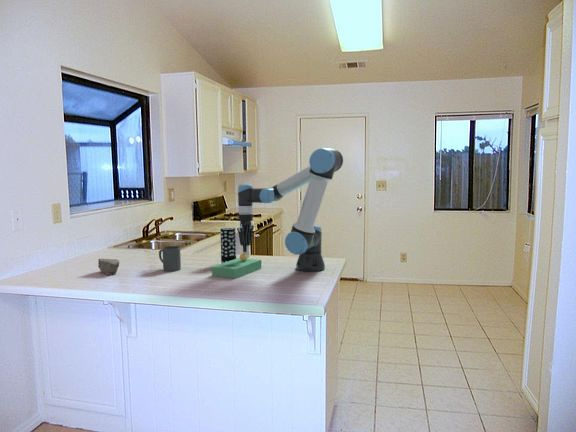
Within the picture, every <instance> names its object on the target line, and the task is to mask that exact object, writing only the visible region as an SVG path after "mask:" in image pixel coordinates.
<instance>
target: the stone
mask: <svg viewBox="0 0 576 432" xmlns="http://www.w3.org/2000/svg"><path fill="white" fill-rule="evenodd" d="M119 266H120V260H119V259H116V258H115V259H114V258H113V259H111V258H98V269H99V271H100V272H101V273H104V274H105V275H106V276H107V277H108V276H109V277H110V276H114V275H116V274H117V272H118V269H119Z"/></svg>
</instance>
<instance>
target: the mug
mask: <svg viewBox="0 0 576 432" xmlns="http://www.w3.org/2000/svg"><path fill="white" fill-rule="evenodd" d="M158 257H159V260H160V262H161V263H162V268H163V269H162V270H163V271H164V272H177V271H180V270H181V267H182V265H181V264H182V263H181V262H182V259H181V247H180V246H178V245H170V246H169V245H167V246H163V247H162V249H159V251H158Z"/></svg>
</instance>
